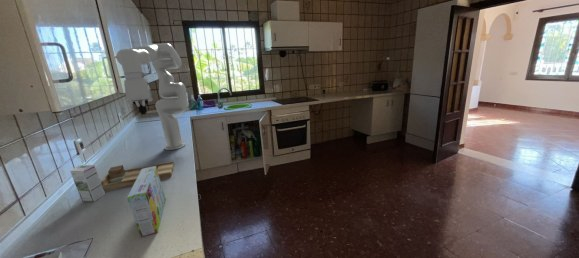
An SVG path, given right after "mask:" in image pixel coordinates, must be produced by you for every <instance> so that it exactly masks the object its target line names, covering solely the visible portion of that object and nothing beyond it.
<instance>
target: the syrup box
mask: <svg viewBox="0 0 579 258" xmlns="http://www.w3.org/2000/svg"><path fill="white" fill-rule="evenodd" d="M69 173H70V175H71V178H72V179H73V182H74V184H75V187H76V190H77V192H78V195H79V197H80V199H81V202H82V203H84V202H90V203H91V202H96V201H97V200H99V199H100V198H102V197H103V196H105V195H106V193H105V191H104V190H103V187H102V184H101V180H100V177H99V174H98V171H97V169H96V166H95V164H81V165H78V166H76V167H74V168H73V169H71V170H70V171H69Z"/></svg>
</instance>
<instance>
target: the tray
mask: <svg viewBox="0 0 579 258" xmlns="http://www.w3.org/2000/svg"><path fill="white" fill-rule="evenodd" d="M153 166H156V167H157V171H158V174H159V178H160V180H164V179H169V178H172V177H173V174H174V173H173V172H174V168H175V163H174V161H173V160H172V161H167V162H161V163H157V164H151V165H146V166H142V167H141V166H140V167H135V168H128V169H124V170H125V173H124V175H123V177H118V178H114V179H110V176H109V173H108V172H107V174H106V175H105V176H104V177H103V179H102V180H100V182H101V184H102V187H103V190H104V192H106V191H111V190H116V189H121V188H126V187H131V186H133V185H134V183H135V181H136V179H137V177H138V175H139V173H140V172H141V170H142V169H143V168H148V167H153Z"/></svg>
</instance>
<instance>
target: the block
mask: <svg viewBox="0 0 579 258" xmlns="http://www.w3.org/2000/svg"><path fill="white" fill-rule="evenodd" d="M125 170H126V169H125V167H124V165H123V164H121V165H117V166H112V167H110V168H109V170H108V171H107V174H108V173H109V176H110V179H114V178H118V177H123V175H124V173H125Z"/></svg>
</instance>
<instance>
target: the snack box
mask: <svg viewBox="0 0 579 258" xmlns="http://www.w3.org/2000/svg"><path fill="white" fill-rule="evenodd" d="M165 195H166V194H165V192H164V188H163V184H162V182H161V179H160V178H159V174H158V171H157V167H156V166H153V167H148V168H143V169H142V170H141V172H140V173H139V175H138V177H137V179H136V181H135V183H134V185H132V187H131V189H130V191H129V193H128V195H127V197H126V199H127V202H128V204H129V207H130V209H131V212H132V216H133V218H134V222H135V224H136V226H137V230H138V233H139V236H140V238H143V237H146V236H149V235H154V234H157V233H158V232H159V228H160V224H161V219H162V215H163V212H164V207H165V203H166V199H167V198H166V196H165Z"/></svg>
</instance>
